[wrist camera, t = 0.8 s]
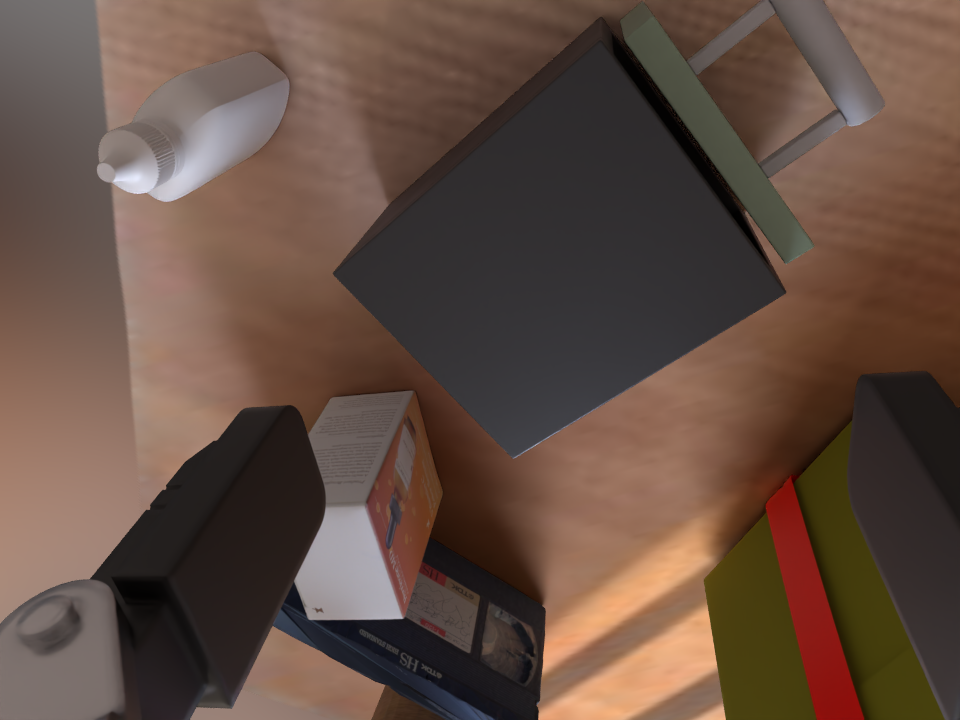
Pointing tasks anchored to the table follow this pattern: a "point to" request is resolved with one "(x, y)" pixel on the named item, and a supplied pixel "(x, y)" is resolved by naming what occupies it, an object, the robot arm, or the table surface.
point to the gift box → (812, 613)
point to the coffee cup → (400, 708)
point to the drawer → (680, 86)
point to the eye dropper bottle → (196, 127)
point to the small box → (370, 507)
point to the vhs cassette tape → (443, 642)
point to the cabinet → (561, 250)
